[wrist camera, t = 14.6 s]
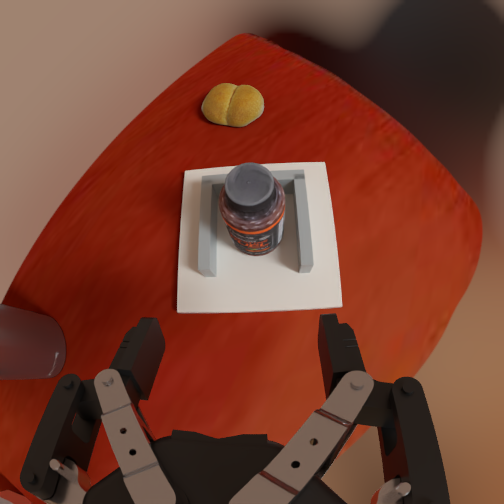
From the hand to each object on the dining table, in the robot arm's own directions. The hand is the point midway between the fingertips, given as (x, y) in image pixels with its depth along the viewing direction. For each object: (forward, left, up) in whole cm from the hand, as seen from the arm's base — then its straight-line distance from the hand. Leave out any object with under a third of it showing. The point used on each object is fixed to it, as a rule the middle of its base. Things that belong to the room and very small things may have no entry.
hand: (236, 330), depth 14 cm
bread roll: (-19, +26, -19) cm, 37 cm away
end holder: (-6, +10, -18) cm, 21 cm away
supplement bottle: (-6, +10, -17) cm, 21 cm away
